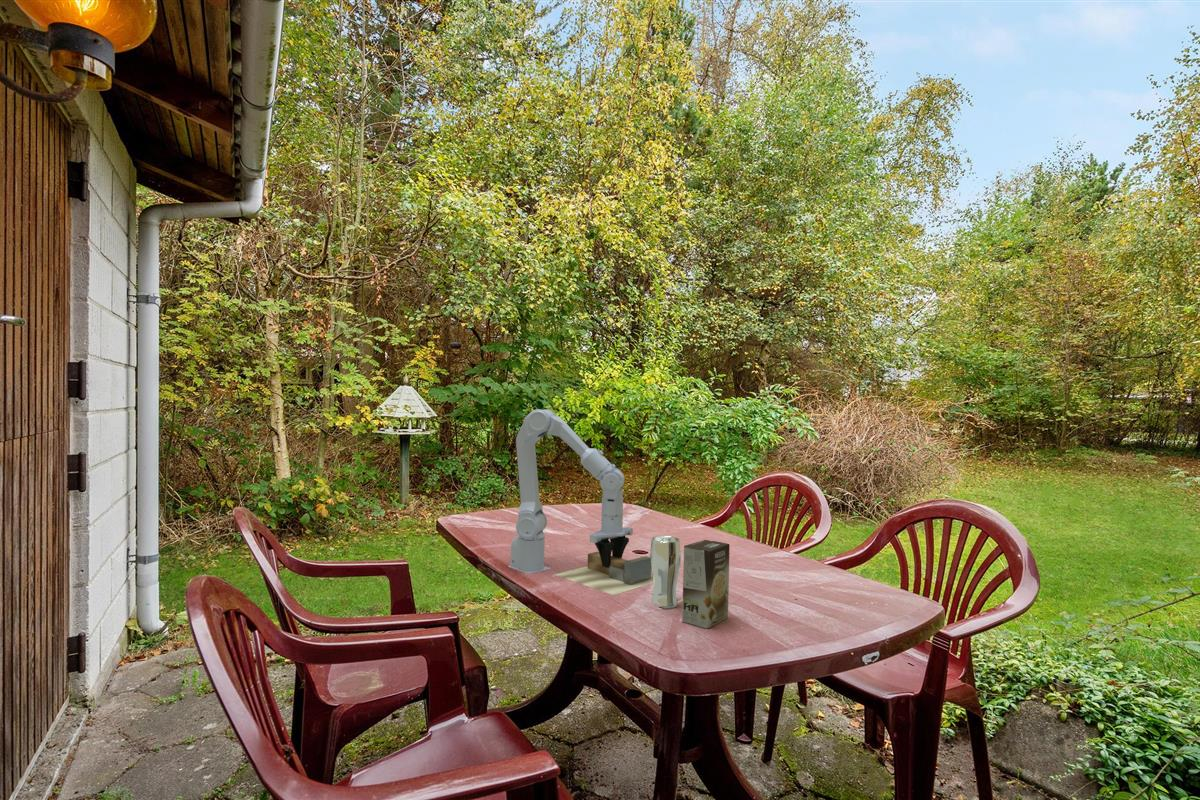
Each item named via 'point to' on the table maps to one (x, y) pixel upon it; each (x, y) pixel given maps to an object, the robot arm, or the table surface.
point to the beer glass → (665, 570)
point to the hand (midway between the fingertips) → (611, 565)
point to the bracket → (632, 571)
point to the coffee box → (705, 583)
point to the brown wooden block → (596, 563)
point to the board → (600, 580)
